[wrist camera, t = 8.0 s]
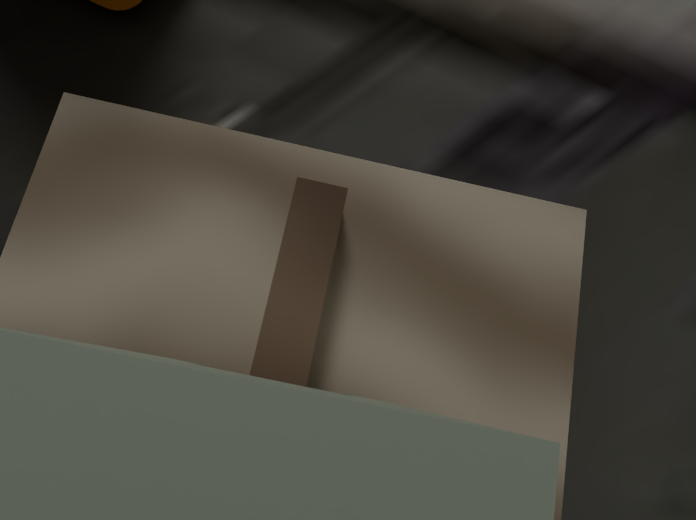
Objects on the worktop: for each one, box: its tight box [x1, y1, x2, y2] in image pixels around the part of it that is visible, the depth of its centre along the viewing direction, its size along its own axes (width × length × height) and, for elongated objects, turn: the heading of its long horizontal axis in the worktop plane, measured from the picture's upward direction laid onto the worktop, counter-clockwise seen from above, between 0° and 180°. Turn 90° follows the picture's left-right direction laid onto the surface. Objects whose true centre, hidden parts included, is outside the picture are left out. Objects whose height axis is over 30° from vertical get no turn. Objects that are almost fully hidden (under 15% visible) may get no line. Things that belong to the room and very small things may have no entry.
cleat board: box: [0, 92, 587, 520], centre depth 15 cm, size 20×19×4 cm
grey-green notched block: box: [0, 327, 560, 520], centre depth 9 cm, size 4×6×10 cm, turn 79°
